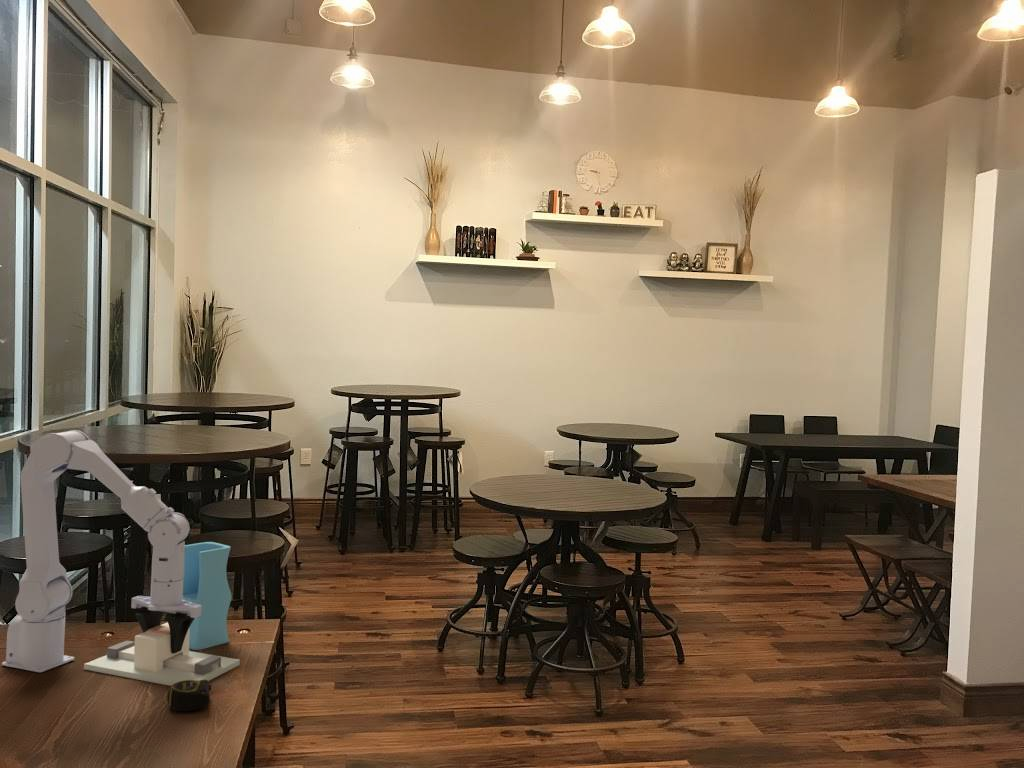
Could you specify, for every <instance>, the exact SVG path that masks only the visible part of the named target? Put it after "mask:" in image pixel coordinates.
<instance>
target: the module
mask: <svg viewBox="0 0 1024 768" xmlns="http://www.w3.org/2000/svg"><path fill="white" fill-rule="evenodd" d="M189 637H190V627H189V629H188V631H187V634H186V636H185V639H184V642H183V646H182V649H181V651H179V652H177V653H175V654H173V653H171V635H170V628H169V624H168V621H167V622H165V623H163V624H160V625H158V626H155V627H153V628H151V629H148V630H147V631H146V632H144V633H143V632H142V633H139V634H136V635H135V636H134V642H135V646H134V668H136V669H141V670H147V671H152V672H158V671H160V670H162V669H163V661H164V660H166V659H168V658H170V657H172V656H174V655H176V654H180V655H186V656H189V651H190V648H189Z"/></svg>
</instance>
